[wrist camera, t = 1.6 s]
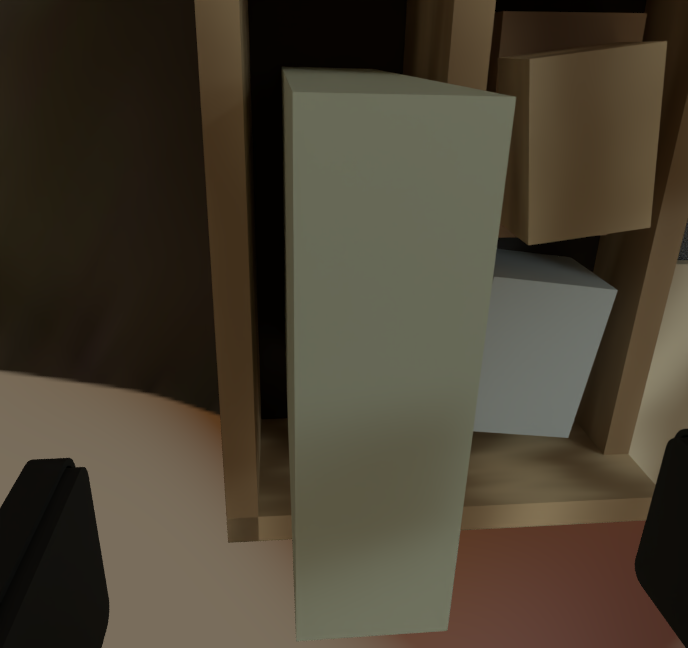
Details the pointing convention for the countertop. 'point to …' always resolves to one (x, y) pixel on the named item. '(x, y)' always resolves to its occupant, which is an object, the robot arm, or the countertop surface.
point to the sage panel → (384, 335)
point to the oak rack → (487, 448)
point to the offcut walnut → (556, 38)
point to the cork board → (665, 382)
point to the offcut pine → (582, 140)
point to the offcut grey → (539, 343)
